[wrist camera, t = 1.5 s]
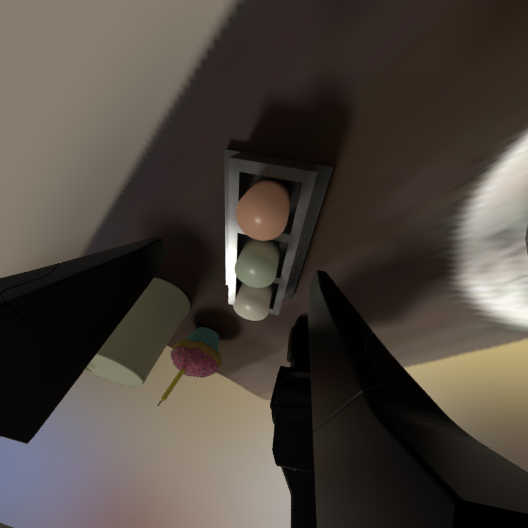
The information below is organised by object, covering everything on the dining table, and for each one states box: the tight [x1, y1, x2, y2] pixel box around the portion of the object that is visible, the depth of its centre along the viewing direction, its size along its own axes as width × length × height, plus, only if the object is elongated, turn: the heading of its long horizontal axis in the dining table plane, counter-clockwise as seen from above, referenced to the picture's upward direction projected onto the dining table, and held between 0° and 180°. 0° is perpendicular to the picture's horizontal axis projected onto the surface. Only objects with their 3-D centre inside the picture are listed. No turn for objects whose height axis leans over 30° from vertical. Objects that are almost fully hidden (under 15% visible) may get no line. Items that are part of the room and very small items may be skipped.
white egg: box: [234, 282, 273, 321], centre depth 20 cm, size 4×4×4 cm
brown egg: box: [236, 177, 291, 241], centre depth 14 cm, size 4×4×4 cm
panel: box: [224, 148, 333, 315], centre depth 19 cm, size 9×16×4 cm, turn 173°
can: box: [85, 278, 190, 387], centre depth 26 cm, size 9×9×12 cm
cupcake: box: [157, 327, 221, 406], centre depth 31 cm, size 9×8×12 cm
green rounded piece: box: [234, 237, 281, 288], centre depth 17 cm, size 4×4×4 cm
